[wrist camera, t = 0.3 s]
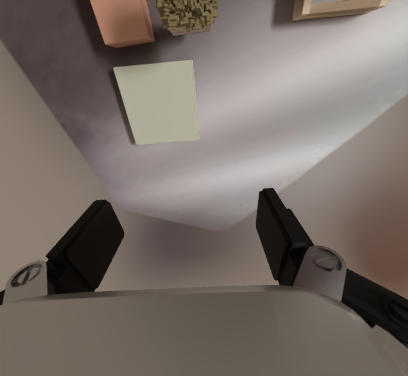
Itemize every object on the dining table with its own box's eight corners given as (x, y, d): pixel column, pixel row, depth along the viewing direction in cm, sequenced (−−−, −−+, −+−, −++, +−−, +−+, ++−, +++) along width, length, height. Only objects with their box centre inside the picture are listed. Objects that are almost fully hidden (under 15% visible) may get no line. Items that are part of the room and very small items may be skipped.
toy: (176, 51, 30) (157, 33, 18) (169, -4, 27) (138, -75, 14) (218, 46, 30) (228, 24, 18) (216, -10, 26) (227, -89, 14)
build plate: (117, 68, 32) (113, 67, 30) (192, 60, 31) (192, 59, 30) (139, 141, 39) (136, 144, 38) (199, 137, 39) (199, 140, 37)
